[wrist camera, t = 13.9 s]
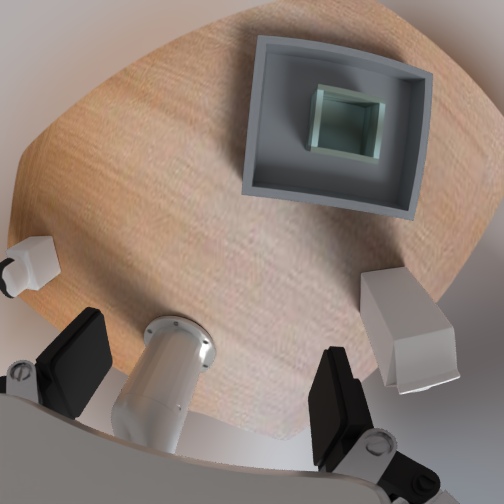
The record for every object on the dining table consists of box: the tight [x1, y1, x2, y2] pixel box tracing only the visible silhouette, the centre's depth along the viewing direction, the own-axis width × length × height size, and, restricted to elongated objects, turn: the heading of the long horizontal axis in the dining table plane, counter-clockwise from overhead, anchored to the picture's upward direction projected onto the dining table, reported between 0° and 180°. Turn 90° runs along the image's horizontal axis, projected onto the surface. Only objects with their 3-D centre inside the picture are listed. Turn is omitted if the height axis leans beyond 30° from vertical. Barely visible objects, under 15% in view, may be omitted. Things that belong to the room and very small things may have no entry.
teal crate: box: [305, 84, 386, 165], centre depth 27 cm, size 7×7×6 cm
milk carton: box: [360, 267, 460, 394], centre depth 30 cm, size 7×7×19 cm
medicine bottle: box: [0, 236, 61, 298], centre depth 37 cm, size 7×7×12 cm
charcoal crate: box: [241, 35, 433, 221], centre depth 29 cm, size 18×20×5 cm
